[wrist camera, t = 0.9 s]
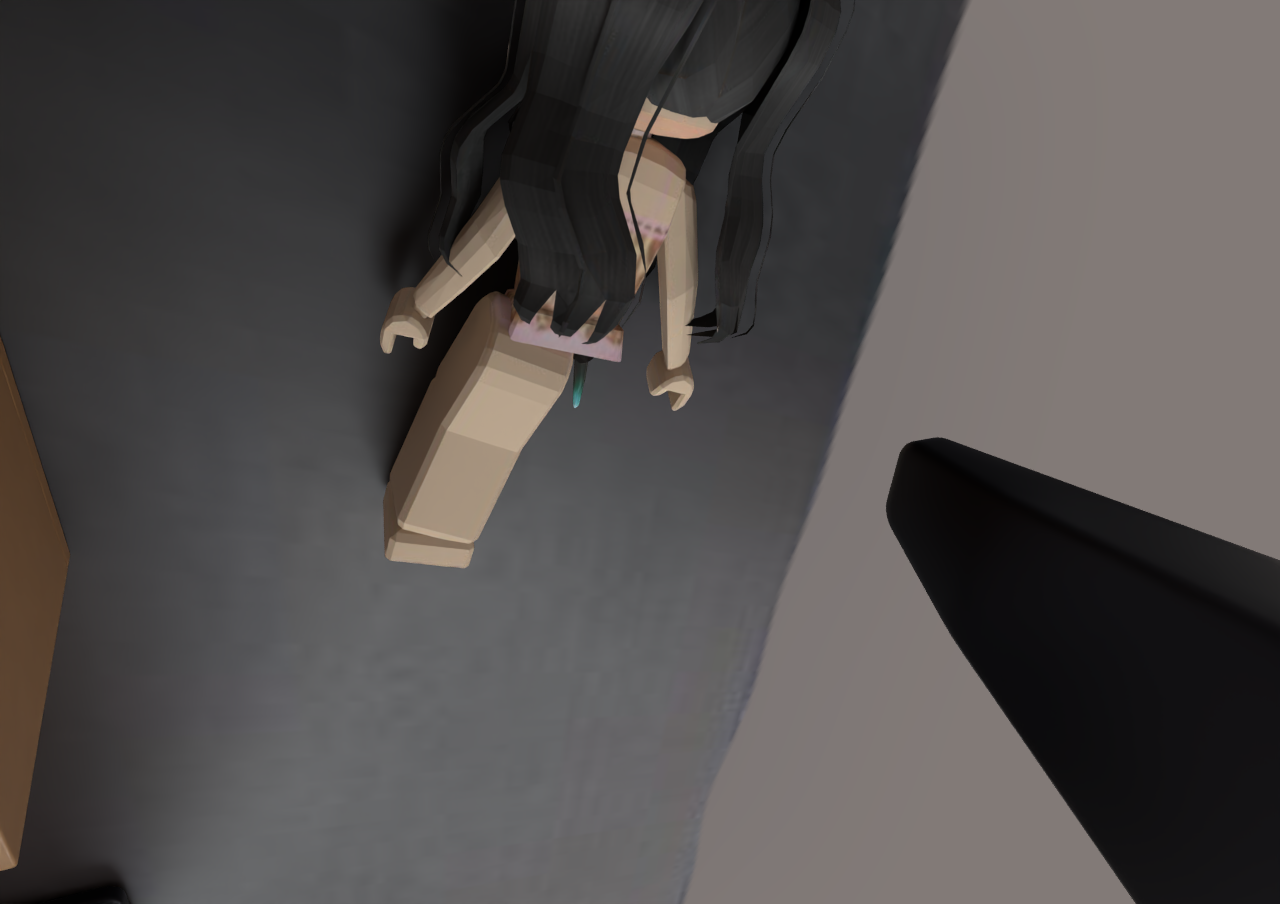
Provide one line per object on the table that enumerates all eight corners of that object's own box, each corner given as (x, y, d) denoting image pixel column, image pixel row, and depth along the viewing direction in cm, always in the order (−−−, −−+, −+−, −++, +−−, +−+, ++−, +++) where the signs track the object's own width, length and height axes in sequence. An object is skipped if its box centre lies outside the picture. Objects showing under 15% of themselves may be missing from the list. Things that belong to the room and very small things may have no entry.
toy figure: (604, 501, 26) (834, -78, 19) (661, 668, 21) (1003, -31, 14) (340, 465, 23) (492, -228, 16) (334, 646, 18) (549, -236, 11)
